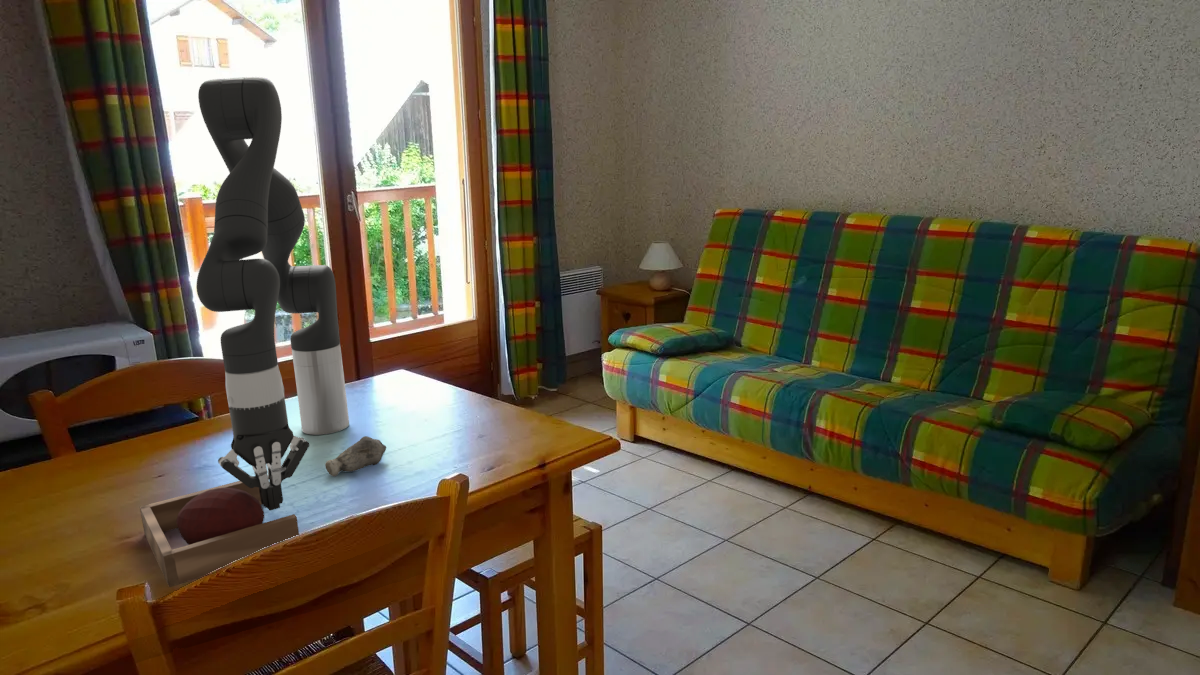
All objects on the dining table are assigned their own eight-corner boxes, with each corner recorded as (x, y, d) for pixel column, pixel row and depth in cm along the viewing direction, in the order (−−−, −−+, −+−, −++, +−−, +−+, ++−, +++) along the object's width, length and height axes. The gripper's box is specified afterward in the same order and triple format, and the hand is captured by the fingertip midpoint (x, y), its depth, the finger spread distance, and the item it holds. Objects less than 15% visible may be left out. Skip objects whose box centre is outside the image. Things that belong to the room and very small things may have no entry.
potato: (179, 539, 121) (170, 487, 119) (259, 519, 126) (252, 469, 124) (185, 572, 111) (175, 516, 109) (271, 550, 116) (264, 496, 114)
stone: (328, 485, 140) (357, 459, 138) (314, 459, 142) (342, 432, 139) (368, 478, 149) (396, 453, 147) (355, 454, 151) (382, 428, 148)
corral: (144, 534, 123) (139, 506, 121) (263, 501, 133) (259, 475, 131) (169, 587, 107) (163, 556, 106) (300, 545, 117) (296, 516, 116)
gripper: (294, 382, 124) (309, 487, 128) (201, 401, 116) (219, 512, 121) (310, 393, 118) (325, 502, 123) (213, 414, 111) (232, 530, 115)
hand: (272, 507), depth 122 cm, fingers closed
